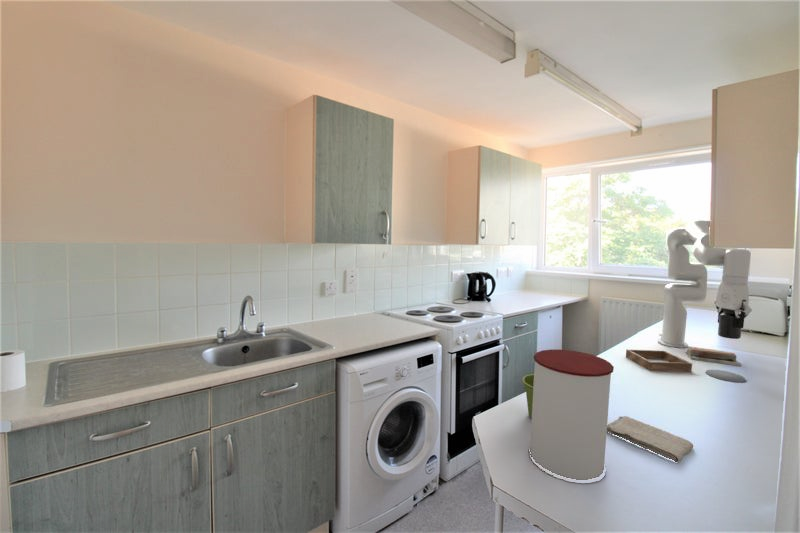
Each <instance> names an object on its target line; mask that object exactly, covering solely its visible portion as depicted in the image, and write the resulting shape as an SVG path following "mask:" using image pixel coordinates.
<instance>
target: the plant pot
mask: <svg viewBox="0 0 800 533" xmlns="http://www.w3.org/2000/svg"><path fill="white" fill-rule="evenodd" d="M521 379H522V382H523V384H524V389H525V394H526V396H525V397H526V403H527V412H528V417H529V418H530V417H531V418H532V404H533V385H534V373H532V374H527V375H524V376H523V377H522V378H521ZM531 418H530V419H531Z"/></svg>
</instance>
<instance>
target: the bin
mask: <svg viewBox="0 0 800 533" xmlns="http://www.w3.org/2000/svg"><path fill="white" fill-rule="evenodd" d="M625 357H626V359H628V360H630V361H632V362H634V363H635V364H637V365H639V366H640V367H642V368H644V369H646V370H647V371H651V372H652V371H654V372H655V371H656V372H678V373H679V372H681V373H692V370H693V363H691V362H689V361H687V360H685V359H682V358H680V357H679V356H677V355H675V354H673V353H670V352H668V351H665V350H656V349H655V350H652V349H650V350H649V349H628V348H627V349H626V350H625ZM649 359H653V360H654V359H655V360H656V359H658V360H664V361H650V360H649Z"/></svg>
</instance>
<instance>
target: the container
mask: <svg viewBox="0 0 800 533" xmlns="http://www.w3.org/2000/svg"><path fill="white" fill-rule="evenodd" d="M533 360H534V373H533V374H534V385H533V404H532V419H531V421H530V422H531V426H530V430H531V431H530V443H529V448H530V452H531V454H530V455H531V457H533V459H534V460H535V462H536V463H538V464H539V465H541V466H542V467H543V468H545V469H547V470H549V471H551V472H552V473H555V474H557V475H560V476H563V477H566V478H571V479H576V480H588V479H592V478H596V477H599V476H600V475H601V474H602V473H603V470H604V464H605V459H606V458H605V457H606V448H607V447H606V445H607V434H608V433H607V425H608V419H609V418H608V416H609V404H610V391H611V390H610V389H611V378H612V377H611V375H612V373H614V368H615V367H614V365H613V364H612V363H611V362H609V361H608V360H606V359H604V358H602V357H599V356H596V355H593V354H589V353H586V352H581V351H576V350H571V349H570V350H569V349H543V350H540V351H537V352H536V353H534V355H533Z"/></svg>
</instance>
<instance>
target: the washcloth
mask: <svg viewBox="0 0 800 533" xmlns="http://www.w3.org/2000/svg"><path fill="white" fill-rule="evenodd" d="M607 432H609V433H611V434H614V435H617V436H619V437H622V438H624V439H626V440H629V441H630V442H632V443H634V444H637V445H639V446H641V447H643V448H645V449H649V450H651V451H653V452H655V453H657V454H660V455H662V456H664V457H666V458H669V459H672V460H674V461H675V462H678V463H679V462H680V463H681V461H682V460H683V458H684V457H685V454H687V455H688V454H689V453H691V451H692V450H693V449H694V443H692V442H691V441H689V440H688V439H685V438H683V437H680V436H678V435H676V434H673V433H670V432H668V431H666V430H663V429H661V428H658V427H655V426H653V425H650V424H647V423H644V422H642V421H640V420H637V419H635V418H632V417H630V416H627V415H624V416H618V418H617V419H615V420H614V421H611V422H609V423H607ZM609 433H608V434H609Z"/></svg>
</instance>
